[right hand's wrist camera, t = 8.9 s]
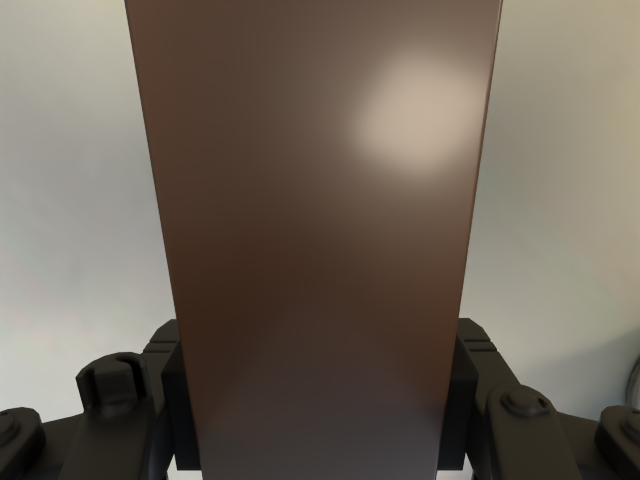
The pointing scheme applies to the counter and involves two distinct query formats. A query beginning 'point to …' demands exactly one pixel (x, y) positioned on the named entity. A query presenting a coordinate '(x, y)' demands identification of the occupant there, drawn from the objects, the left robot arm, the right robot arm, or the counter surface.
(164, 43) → the walnut beam
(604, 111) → the counter surface
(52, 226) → the counter surface
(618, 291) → the counter surface
